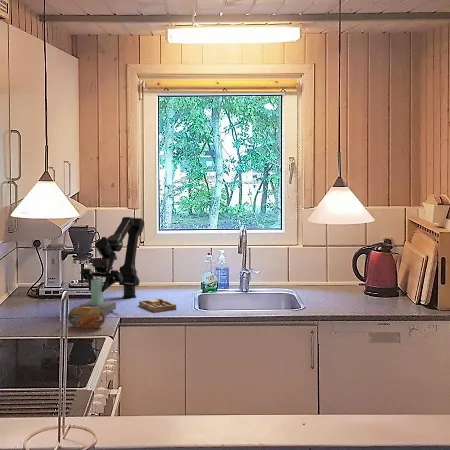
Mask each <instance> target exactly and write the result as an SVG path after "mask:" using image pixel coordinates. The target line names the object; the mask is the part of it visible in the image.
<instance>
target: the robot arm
mask: <svg viewBox="0 0 450 450" xmlns="http://www.w3.org/2000/svg"><path fill="white" fill-rule="evenodd" d="M144 228H145V220H143V218H141V217H132V216H124V217H122V219H121V222H120V224H119V225H118V227H117V228H116V230H115V231H114V233H113V234H111V235H109V236H108V237H106V236H102V237H101V238H99V239H98V240H97V241H95V244H94V246H95V248H96V251H97V252H98V255H100V256H101V259H100V258H92V263H91V267H94V271H92V269H91V268H86V267H85V268H81V270H80V276H82V279H83V280H85V281H88V291H89V292H91V280H93V279H95V278H104V280H105V281H103V287H102V290H101V291H102V292H103V293H104V291H106V290H107V289H109V288H110V287H111V286H112V285H113V284H116V283H118V284H119V286H123V287H122V290H123V294H122V300H124V299H125V300H127V299H128V300H129V299H137V294H136V287H138V286H140V281H141V280H140V279H139V276H138V271H137V269H136V267H135V262H136V256H137V247H138V241H139V237H140V235H141V234H142V233H143V231H144ZM127 234H128V236H127ZM126 236H127V243H126V248H125V249H126V250H125V258H124V264H123V265H122V266H120V267H119V270H116V269H114V267H113V265H114V262H115V261H117V260H118V258H117V257H118V256H117V254H116V252H121V250H122V248H123V247H124V243H123V240H124V239H125V237H126Z"/></svg>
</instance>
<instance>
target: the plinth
mask: <svg viewBox="0 0 450 450" xmlns="http://www.w3.org/2000/svg"><path fill="white" fill-rule="evenodd" d="M116 303H117V302H116V301H105V300H103V303H102V304H100V305H91V300H89V301H87V302H84V303H82V304H79V305H78V307H98V308H100V309H102V310H103V311H104V313H105V317H107V316H109V315H110V313H111V314H113V313H114V310H116V309H117V304H116ZM112 312H113V313H112ZM108 314H109V315H108ZM106 315H107V316H106Z"/></svg>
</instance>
